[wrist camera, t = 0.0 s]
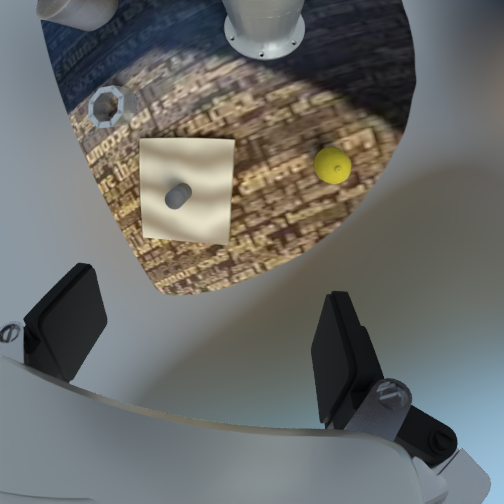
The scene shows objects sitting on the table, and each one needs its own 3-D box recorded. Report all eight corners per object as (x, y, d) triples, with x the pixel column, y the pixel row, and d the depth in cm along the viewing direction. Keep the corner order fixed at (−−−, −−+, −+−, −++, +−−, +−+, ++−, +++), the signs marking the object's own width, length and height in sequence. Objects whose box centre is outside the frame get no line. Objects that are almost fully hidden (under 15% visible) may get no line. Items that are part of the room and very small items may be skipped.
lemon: (312, 179, 44) (320, 190, 37) (308, 146, 41) (317, 151, 34) (344, 176, 43) (358, 187, 36) (341, 144, 41) (356, 148, 33)
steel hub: (104, 91, 37) (89, 89, 33) (138, 86, 37) (124, 83, 33) (103, 127, 41) (88, 129, 36) (136, 124, 40) (122, 125, 36)
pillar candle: (96, -11, 26) (52, -31, 13) (128, -5, 28) (86, -32, 15) (71, 28, 30) (22, 17, 17) (101, 36, 32) (51, 21, 19)
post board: (143, 138, 42) (125, 141, 36) (235, 139, 41) (230, 142, 36) (146, 234, 50) (132, 249, 44) (229, 241, 49) (224, 258, 44)
